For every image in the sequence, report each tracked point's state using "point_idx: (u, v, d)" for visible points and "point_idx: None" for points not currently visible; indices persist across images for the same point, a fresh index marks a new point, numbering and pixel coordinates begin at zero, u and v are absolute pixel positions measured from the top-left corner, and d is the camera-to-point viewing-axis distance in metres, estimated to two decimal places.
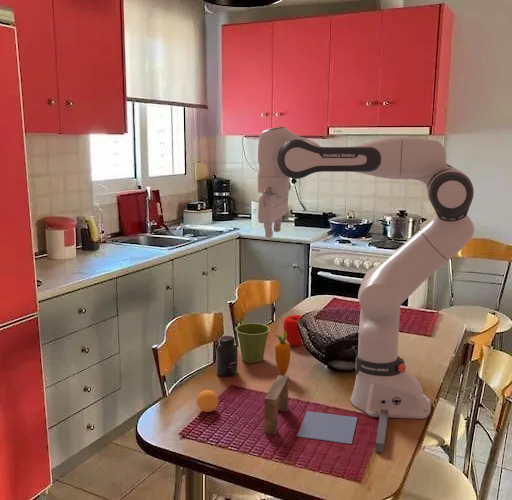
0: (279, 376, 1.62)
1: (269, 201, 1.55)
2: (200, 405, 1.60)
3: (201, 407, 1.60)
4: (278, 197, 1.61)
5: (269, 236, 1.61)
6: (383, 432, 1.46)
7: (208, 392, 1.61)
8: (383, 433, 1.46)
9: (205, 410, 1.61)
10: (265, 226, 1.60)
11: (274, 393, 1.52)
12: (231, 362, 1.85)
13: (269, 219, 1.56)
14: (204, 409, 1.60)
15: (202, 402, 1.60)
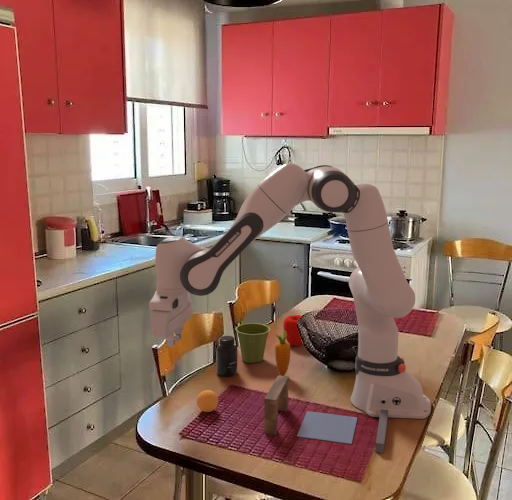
0: (279, 376, 1.62)
1: None
2: (200, 405, 1.60)
3: (201, 407, 1.60)
4: None
5: None
6: (383, 432, 1.46)
7: (208, 392, 1.61)
8: (383, 433, 1.46)
9: (205, 410, 1.61)
10: None
11: (274, 393, 1.52)
12: (231, 362, 1.85)
13: None
14: (204, 409, 1.60)
15: (202, 402, 1.60)
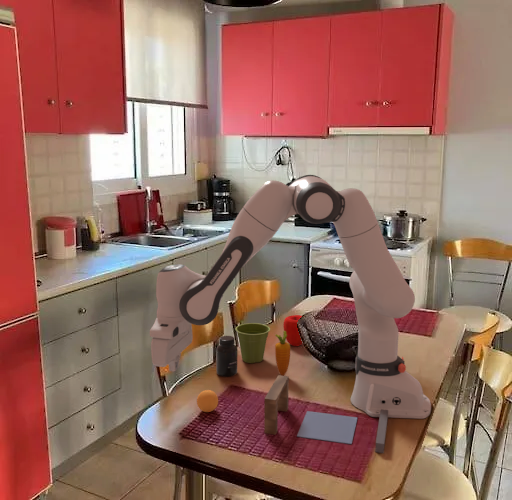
0: (279, 376, 1.62)
1: None
2: (200, 405, 1.60)
3: (201, 407, 1.60)
4: None
5: None
6: (383, 432, 1.46)
7: (208, 392, 1.61)
8: (383, 433, 1.46)
9: (205, 410, 1.61)
10: None
11: (274, 393, 1.52)
12: (231, 362, 1.85)
13: None
14: (204, 409, 1.60)
15: (202, 402, 1.60)
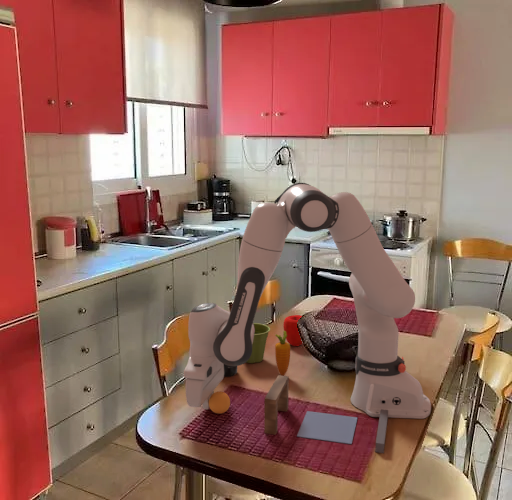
0: (279, 376, 1.62)
1: None
2: (213, 404, 1.59)
3: (212, 405, 1.59)
4: None
5: None
6: (383, 432, 1.46)
7: (227, 400, 1.60)
8: (383, 433, 1.46)
9: (212, 409, 1.60)
10: None
11: (274, 393, 1.52)
12: None
13: None
14: (213, 409, 1.60)
15: (217, 404, 1.59)
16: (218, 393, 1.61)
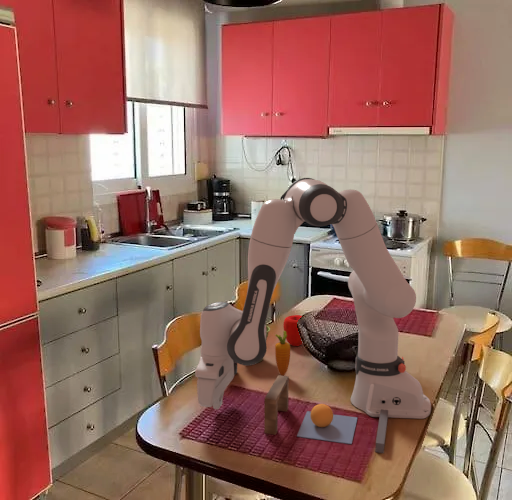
0: (279, 376, 1.62)
1: None
2: (322, 423, 1.52)
3: (323, 422, 1.51)
4: None
5: None
6: (383, 432, 1.46)
7: None
8: (383, 433, 1.46)
9: (325, 416, 1.51)
10: None
11: (274, 393, 1.52)
12: None
13: None
14: (324, 418, 1.51)
15: (318, 423, 1.52)
16: None
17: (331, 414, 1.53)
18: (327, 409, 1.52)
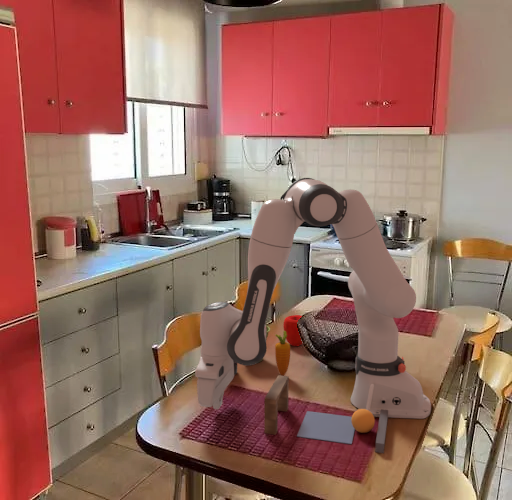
0: (279, 376, 1.62)
1: None
2: (361, 422, 1.49)
3: (359, 422, 1.49)
4: None
5: None
6: (383, 432, 1.46)
7: None
8: (383, 433, 1.46)
9: (355, 425, 1.50)
10: None
11: (274, 393, 1.52)
12: None
13: None
14: (357, 425, 1.49)
15: (365, 424, 1.48)
16: (369, 413, 1.50)
17: (351, 419, 1.51)
18: None
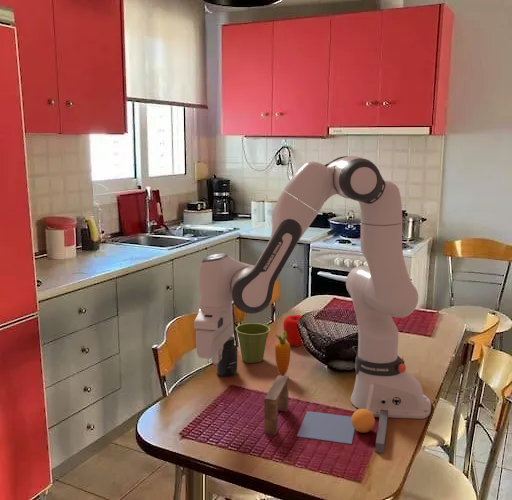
0: (279, 376, 1.62)
1: None
2: (361, 422, 1.49)
3: (359, 422, 1.49)
4: None
5: None
6: (383, 432, 1.46)
7: None
8: (383, 433, 1.46)
9: (355, 425, 1.50)
10: None
11: (274, 393, 1.52)
12: (231, 362, 1.85)
13: None
14: (357, 425, 1.49)
15: (365, 424, 1.48)
16: (369, 413, 1.50)
17: (351, 419, 1.51)
18: None
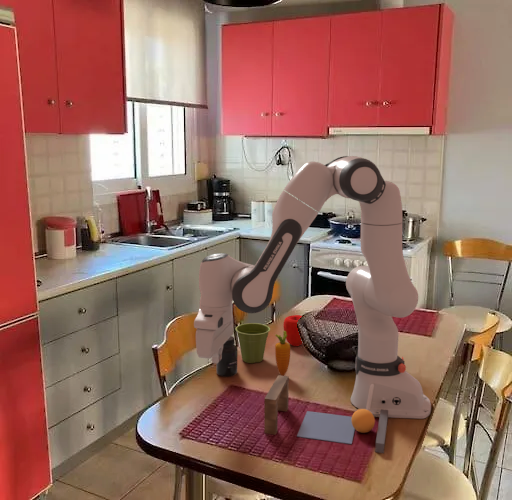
0: (279, 376, 1.62)
1: None
2: (361, 422, 1.49)
3: (359, 422, 1.49)
4: None
5: None
6: (383, 432, 1.46)
7: None
8: (383, 433, 1.46)
9: (355, 425, 1.50)
10: None
11: (274, 393, 1.52)
12: (231, 362, 1.85)
13: None
14: (357, 425, 1.49)
15: (365, 424, 1.48)
16: (369, 413, 1.50)
17: (351, 419, 1.51)
18: None
